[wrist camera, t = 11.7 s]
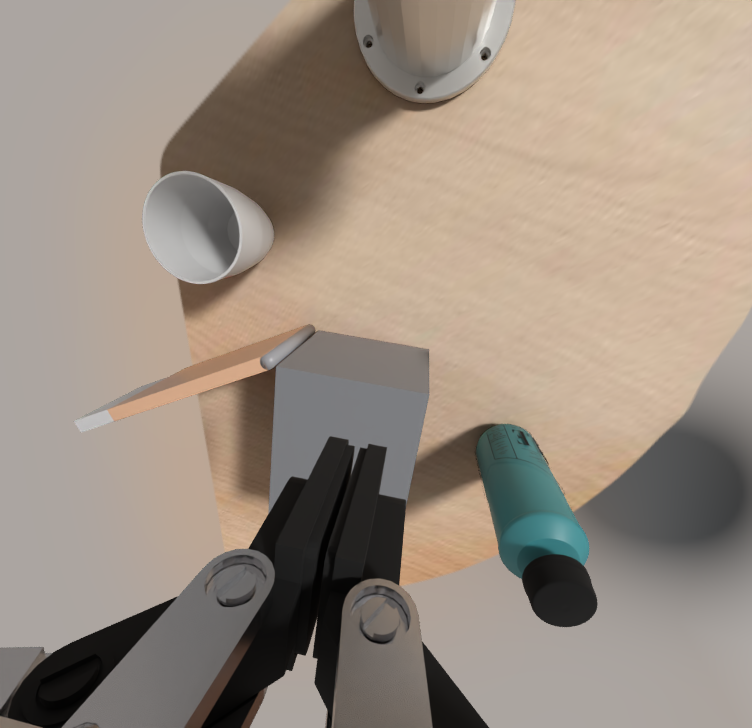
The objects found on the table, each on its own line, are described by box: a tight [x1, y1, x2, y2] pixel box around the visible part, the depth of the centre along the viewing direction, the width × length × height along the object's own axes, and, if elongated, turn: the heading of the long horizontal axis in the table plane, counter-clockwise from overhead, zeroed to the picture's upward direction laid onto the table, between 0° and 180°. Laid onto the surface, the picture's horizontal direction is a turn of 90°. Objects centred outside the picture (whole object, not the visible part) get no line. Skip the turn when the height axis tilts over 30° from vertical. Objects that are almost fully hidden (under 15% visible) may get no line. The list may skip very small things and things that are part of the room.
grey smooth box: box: [269, 331, 429, 512], centre depth 37 cm, size 16×12×12 cm
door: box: [74, 324, 315, 432], centre depth 37 cm, size 21×1×11 cm, turn 111°
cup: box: [142, 171, 274, 284], centre depth 33 cm, size 8×8×10 cm
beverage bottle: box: [475, 424, 597, 627], centre depth 32 cm, size 6×7×20 cm
